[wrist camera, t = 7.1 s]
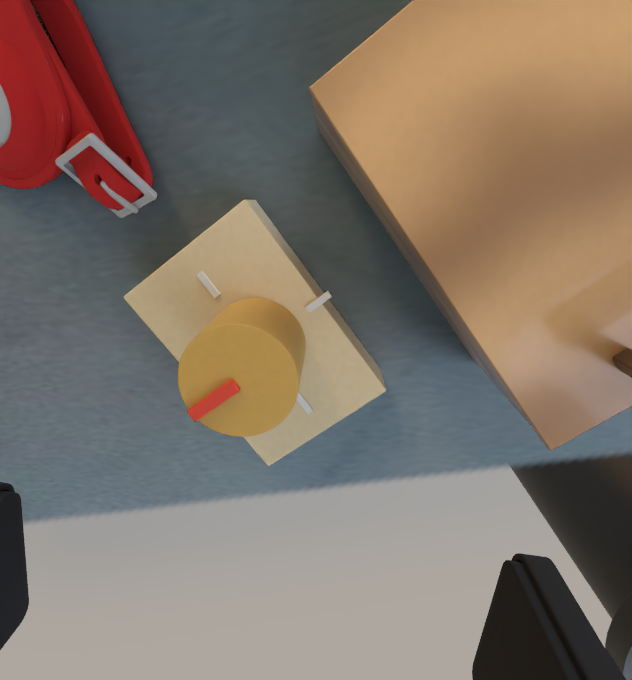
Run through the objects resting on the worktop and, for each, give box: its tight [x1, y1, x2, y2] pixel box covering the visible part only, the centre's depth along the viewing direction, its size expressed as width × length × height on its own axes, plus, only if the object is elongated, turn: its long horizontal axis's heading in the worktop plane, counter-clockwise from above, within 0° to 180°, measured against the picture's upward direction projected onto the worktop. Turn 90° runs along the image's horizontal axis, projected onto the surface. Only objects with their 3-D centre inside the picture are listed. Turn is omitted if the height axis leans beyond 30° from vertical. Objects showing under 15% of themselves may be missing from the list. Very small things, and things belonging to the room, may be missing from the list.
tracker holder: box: [0, 0, 157, 218], centre depth 21 cm, size 12×4×10 cm
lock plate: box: [123, 200, 387, 466], centre depth 25 cm, size 12×9×3 cm
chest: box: [311, 96, 530, 424], centre depth 20 cm, size 16×13×8 cm
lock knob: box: [178, 298, 306, 437], centre depth 21 cm, size 5×5×5 cm
